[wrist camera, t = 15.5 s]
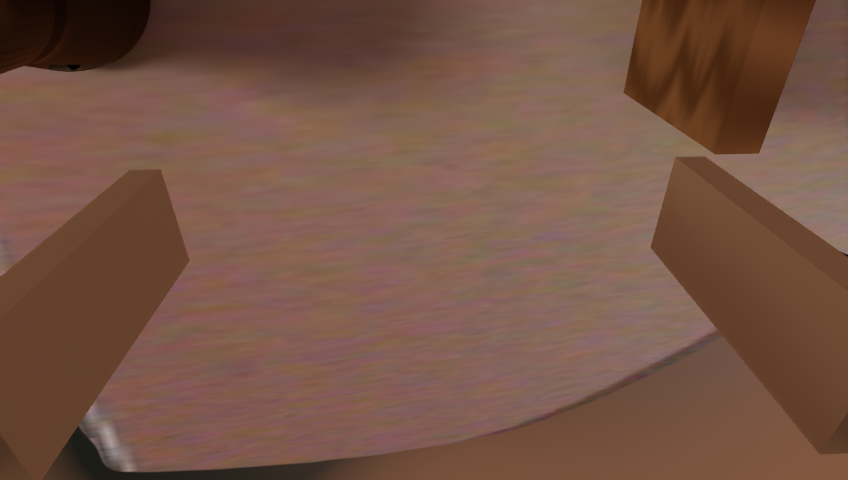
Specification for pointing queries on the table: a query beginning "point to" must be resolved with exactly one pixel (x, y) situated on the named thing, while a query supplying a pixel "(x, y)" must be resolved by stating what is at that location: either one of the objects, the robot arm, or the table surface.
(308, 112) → the table surface
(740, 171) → the table surface
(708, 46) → the door
